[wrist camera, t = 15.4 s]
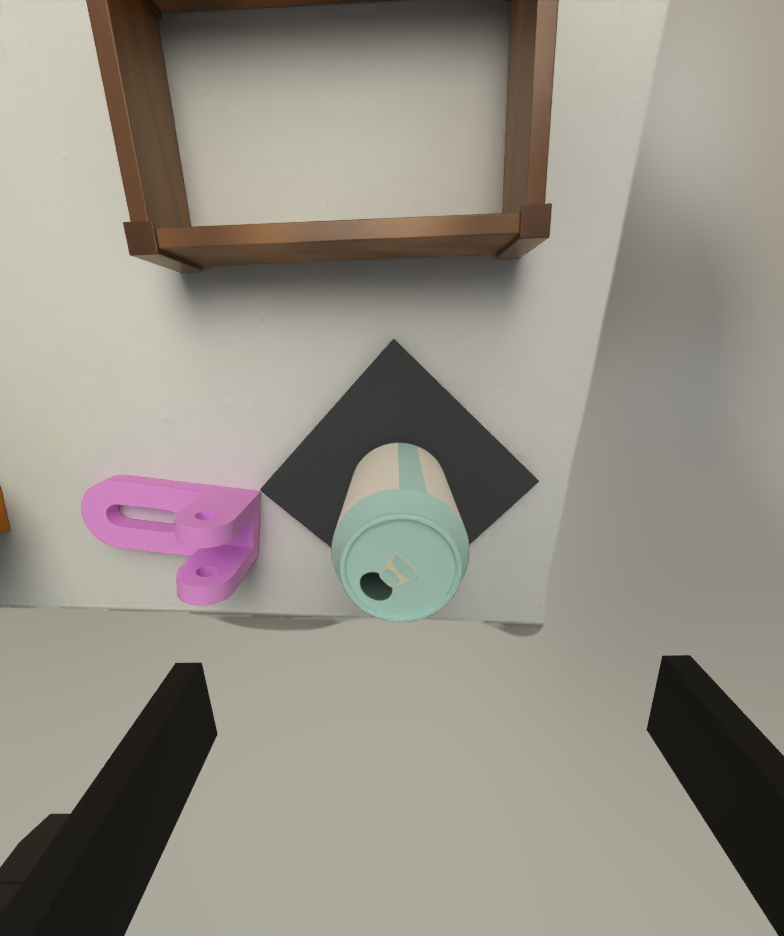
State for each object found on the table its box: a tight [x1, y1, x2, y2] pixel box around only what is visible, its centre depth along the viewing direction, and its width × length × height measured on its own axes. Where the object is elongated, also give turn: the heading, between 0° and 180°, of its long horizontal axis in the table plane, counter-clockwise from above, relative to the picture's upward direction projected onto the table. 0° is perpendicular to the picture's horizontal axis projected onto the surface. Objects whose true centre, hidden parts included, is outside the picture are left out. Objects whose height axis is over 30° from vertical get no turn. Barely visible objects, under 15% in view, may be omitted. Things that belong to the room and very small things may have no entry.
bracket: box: [81, 475, 260, 605], centre depth 28 cm, size 13×6×7 cm, turn 83°
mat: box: [260, 339, 539, 548], centre depth 30 cm, size 15×15×1 cm
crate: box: [86, 0, 558, 272], centre depth 22 cm, size 23×15×5 cm, turn 92°
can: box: [332, 443, 469, 622], centre depth 24 cm, size 7×7×12 cm
